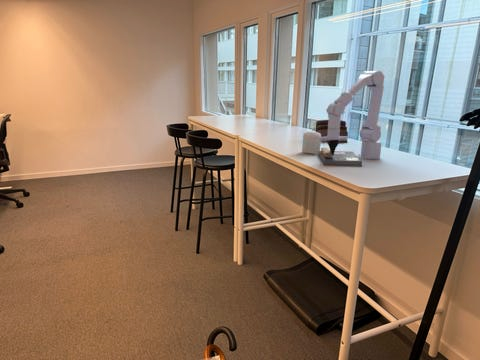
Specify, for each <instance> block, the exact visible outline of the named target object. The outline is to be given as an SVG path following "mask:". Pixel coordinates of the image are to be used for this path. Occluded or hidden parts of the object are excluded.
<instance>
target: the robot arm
mask: <svg viewBox="0 0 480 360" xmlns="http://www.w3.org/2000/svg"><path fill="white" fill-rule="evenodd" d="M384 81H385V75H384V73H383V72H382V71H381V70H370V71H368V70H364V71H362V73H361V74H360V75H359V76H358V79H357V80H356V81H355V82H354V84H353V85H352V86H351V87H350V88H349V90H347V91H344V92H342V93H340V95H339V97H338V98H336V99H335V100H334V101H333V103H331V102H330V104H328V106H327V108H326V113H327V117H328V119H327V120H328V135H327V136H325V137H319V141H320V142H322V141H327V145H328V149H329V151H330V152H331V153H332V155H334V151H336V149H337V147H338V145H339V144H340V143H339V141H340V140H345V141H347V142H348V138H349V137H347V136H339V133H340V120H341V121H342V119H341V117H342V115H343V114H344V112H345V109H346V108H347V107H348V105H349V104H350V103H351V102H353V100H354V96H355V95H356V94H357V93H359V92H360V91H361V90H362V89H363V88H364V87H365V86H367V87H368V88H369V89H370V92H371V93H370V98H369V103H368V110H367V116H366V121H365V122H363V124H362V126H361V129H360V131H359V137H360V138H361V139H360V140H361V148H360V154H358V155H357V156H358V157H359V158H360V159H361V160H362V159H363V160H365V159H366V160H380V159H381V151H382V142H381V141H379V140H380V139H381V136H382V132H381V125H380V124H379V123H378V121H379V116H380V110H381V105H382V99H383V94H384V88H385V85H384ZM330 139H332V140H330Z"/></svg>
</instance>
